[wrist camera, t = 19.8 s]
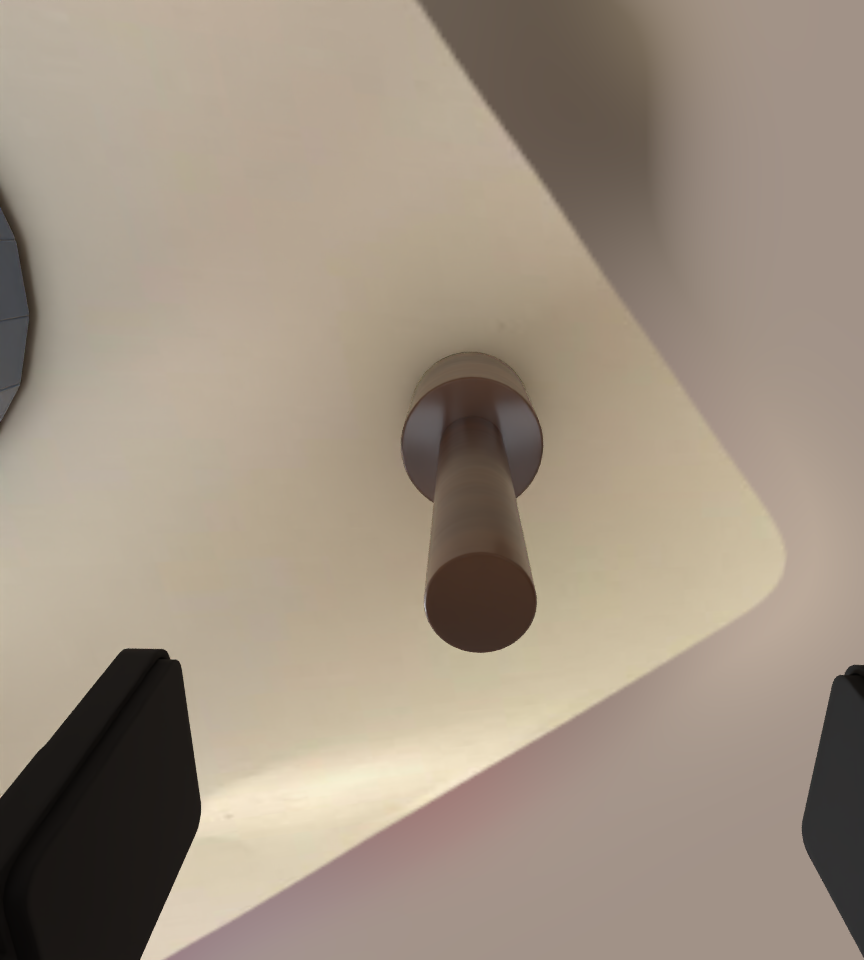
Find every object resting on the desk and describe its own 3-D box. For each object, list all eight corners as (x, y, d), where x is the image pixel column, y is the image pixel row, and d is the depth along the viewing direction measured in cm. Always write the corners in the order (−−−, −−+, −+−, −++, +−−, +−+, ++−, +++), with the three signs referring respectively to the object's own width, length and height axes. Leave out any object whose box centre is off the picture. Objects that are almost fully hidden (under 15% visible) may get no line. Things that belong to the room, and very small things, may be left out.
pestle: (426, 338, 26) (386, 459, 12) (543, 368, 26) (640, 521, 12) (399, 451, 27) (334, 679, 13) (510, 478, 28) (563, 732, 13)
